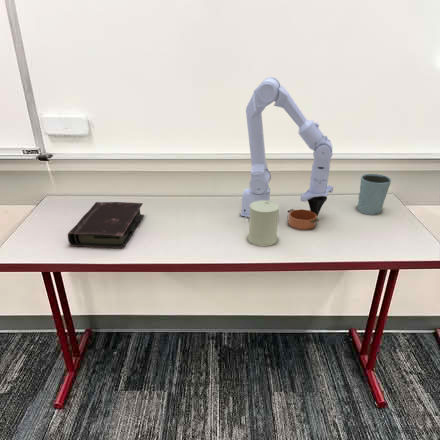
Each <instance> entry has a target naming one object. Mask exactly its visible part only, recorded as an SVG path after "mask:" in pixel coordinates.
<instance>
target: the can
mask: <svg viewBox="0 0 440 440" xmlns="http://www.w3.org/2000/svg"><path fill="white" fill-rule="evenodd" d="M279 213H280V205H279V204H278V203H277V202H275V201H273V200H272V201H271V200H269V201H266V200H261V201H255V202H253V203H251V204H250V217H249V225H248V229H249V230H248V237H247V239H248V242H249V243H250V244H252V245H254V246H258V247H268V246H272V245H274V244H276V243H277V241H278V238H277V236H278V223H279Z"/></svg>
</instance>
